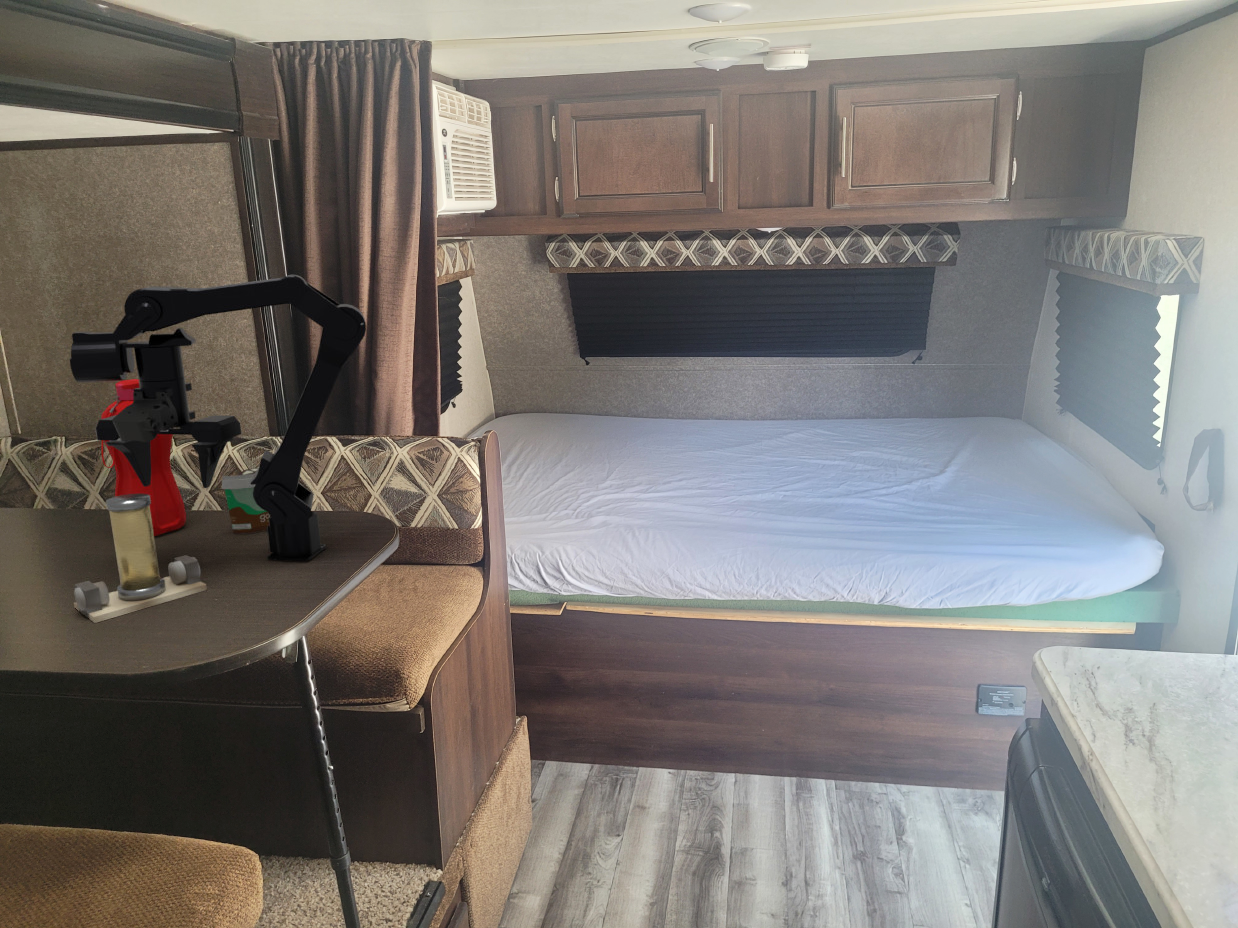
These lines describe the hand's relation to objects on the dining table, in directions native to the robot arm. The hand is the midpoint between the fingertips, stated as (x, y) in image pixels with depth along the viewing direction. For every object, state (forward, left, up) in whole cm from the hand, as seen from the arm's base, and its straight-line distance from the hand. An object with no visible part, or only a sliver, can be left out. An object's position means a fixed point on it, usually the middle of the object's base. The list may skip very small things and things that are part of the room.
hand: (176, 486), depth 126 cm
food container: (-2, -19, -12) cm, 23 cm away
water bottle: (+16, -14, -12) cm, 25 cm away
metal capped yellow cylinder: (-2, +12, -11) cm, 17 cm away
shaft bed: (-2, +12, -12) cm, 17 cm away
